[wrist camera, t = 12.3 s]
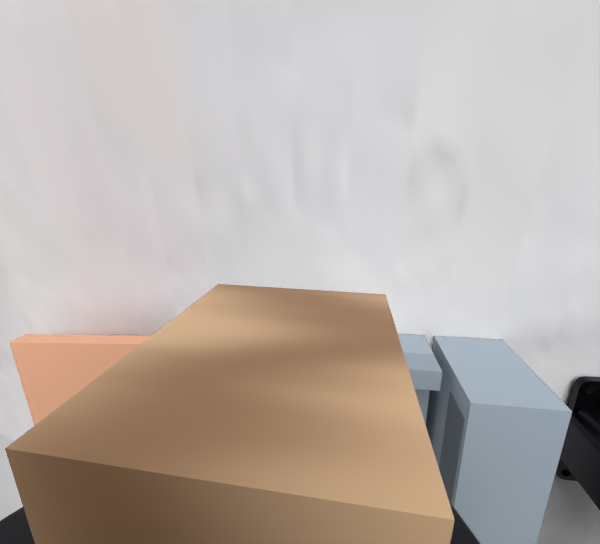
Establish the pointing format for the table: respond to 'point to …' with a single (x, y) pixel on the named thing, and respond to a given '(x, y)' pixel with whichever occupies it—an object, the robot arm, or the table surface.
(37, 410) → the panel
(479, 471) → the truck bed
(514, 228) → the table surface
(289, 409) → the upright cardboard box
